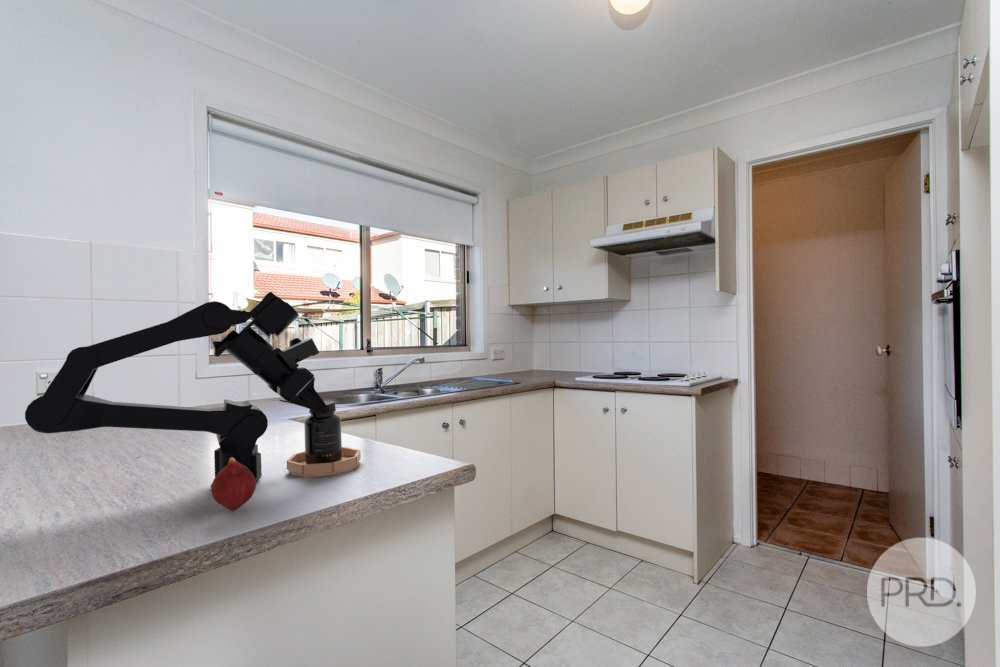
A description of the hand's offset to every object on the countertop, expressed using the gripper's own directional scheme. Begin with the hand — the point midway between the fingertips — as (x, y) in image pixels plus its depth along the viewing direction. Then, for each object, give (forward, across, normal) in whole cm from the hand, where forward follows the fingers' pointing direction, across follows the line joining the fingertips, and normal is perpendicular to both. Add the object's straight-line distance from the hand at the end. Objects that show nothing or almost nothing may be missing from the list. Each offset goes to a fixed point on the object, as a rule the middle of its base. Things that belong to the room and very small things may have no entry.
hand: (322, 408), depth 94 cm
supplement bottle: (+8, 0, +8) cm, 11 cm away
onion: (-3, -16, +20) cm, 26 cm away
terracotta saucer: (+8, 0, +8) cm, 12 cm away
